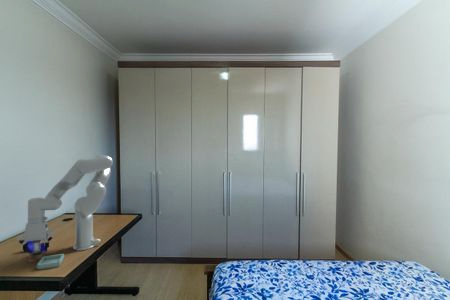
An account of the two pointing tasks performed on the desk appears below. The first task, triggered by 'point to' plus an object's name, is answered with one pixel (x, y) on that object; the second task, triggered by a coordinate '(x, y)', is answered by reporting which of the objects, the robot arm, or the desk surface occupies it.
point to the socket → (36, 256)
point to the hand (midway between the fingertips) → (36, 249)
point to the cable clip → (31, 246)
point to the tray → (50, 261)
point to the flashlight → (37, 247)
